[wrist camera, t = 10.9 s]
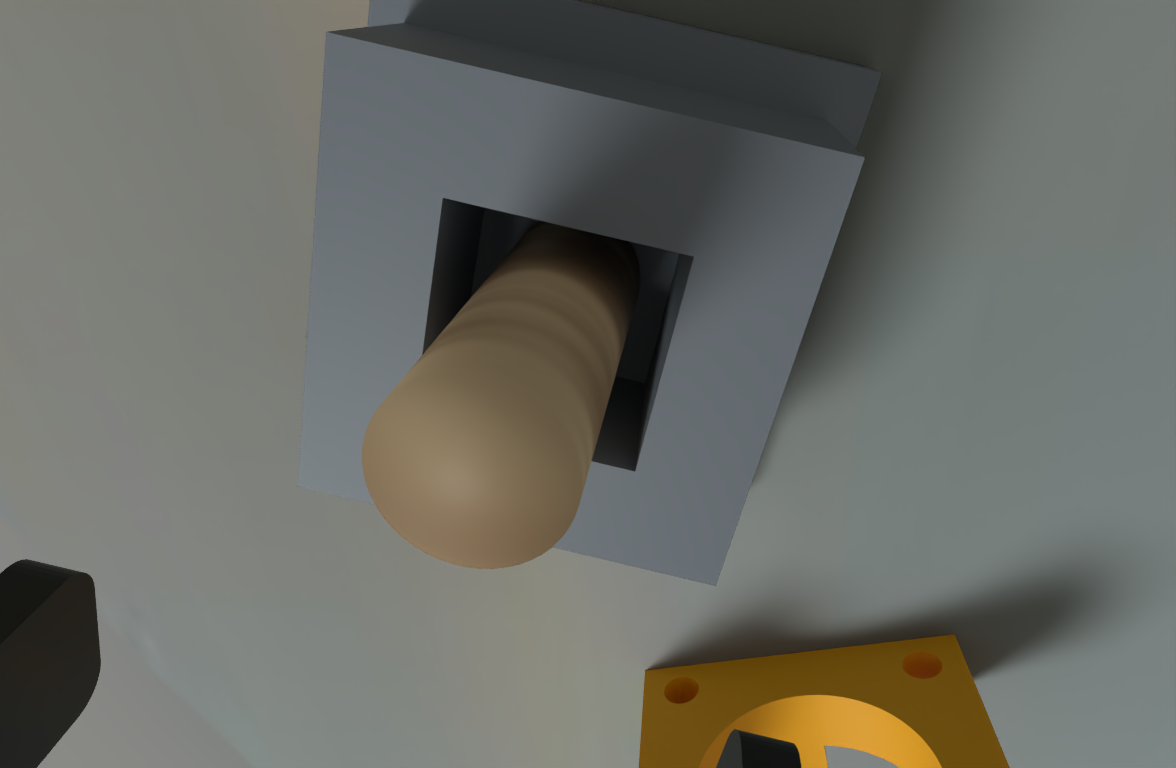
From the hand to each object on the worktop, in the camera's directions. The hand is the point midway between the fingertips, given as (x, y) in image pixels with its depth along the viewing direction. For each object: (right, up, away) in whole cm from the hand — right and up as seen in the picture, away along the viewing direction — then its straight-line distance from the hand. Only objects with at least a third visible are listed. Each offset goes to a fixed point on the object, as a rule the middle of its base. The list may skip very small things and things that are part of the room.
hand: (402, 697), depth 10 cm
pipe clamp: (+11, -8, +24) cm, 28 cm away
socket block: (+2, +8, +17) cm, 19 cm away
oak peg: (+2, +7, +15) cm, 17 cm away
